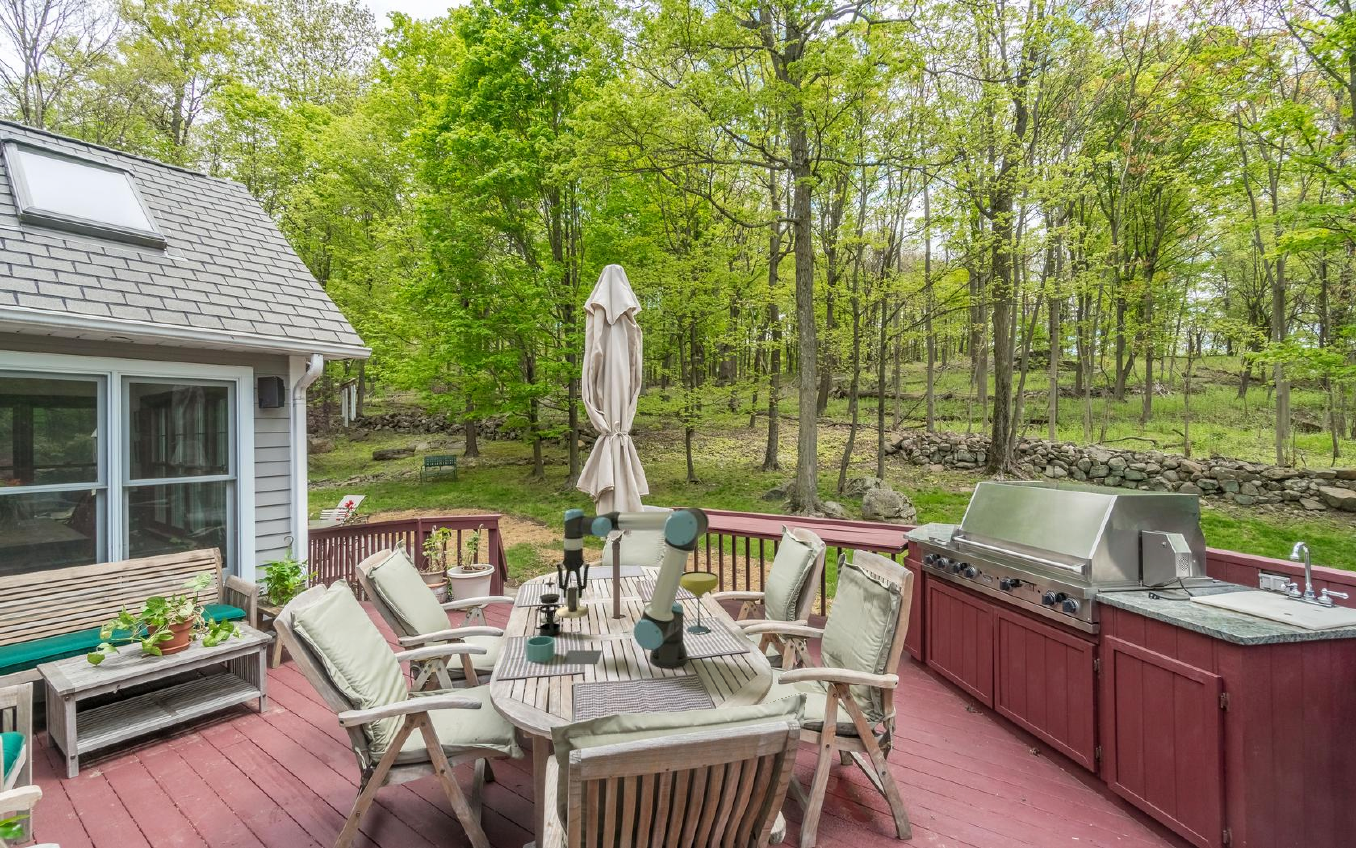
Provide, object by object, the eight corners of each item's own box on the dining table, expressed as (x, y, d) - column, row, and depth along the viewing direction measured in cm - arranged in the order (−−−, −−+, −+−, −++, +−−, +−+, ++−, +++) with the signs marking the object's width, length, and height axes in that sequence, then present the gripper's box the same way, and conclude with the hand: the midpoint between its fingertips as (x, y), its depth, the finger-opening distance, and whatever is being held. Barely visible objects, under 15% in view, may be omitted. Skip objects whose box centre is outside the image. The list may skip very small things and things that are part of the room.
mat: (601, 652, 243) (601, 650, 243) (597, 665, 229) (597, 664, 229) (568, 651, 243) (568, 650, 243) (561, 665, 229) (561, 664, 229)
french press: (560, 629, 270) (560, 579, 270) (563, 635, 261) (563, 584, 262) (534, 632, 266) (534, 581, 266) (536, 639, 257) (536, 587, 257)
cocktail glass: (674, 635, 262) (674, 579, 262) (684, 622, 279) (684, 570, 280) (713, 639, 257) (713, 582, 257) (721, 625, 275) (721, 572, 275)
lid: (591, 608, 242) (591, 584, 242) (585, 618, 229) (586, 593, 229) (560, 607, 243) (560, 583, 243) (552, 618, 230) (553, 592, 230)
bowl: (556, 653, 241) (556, 636, 241) (550, 664, 230) (550, 646, 230) (530, 653, 241) (530, 636, 241) (523, 664, 230) (523, 646, 230)
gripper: (595, 546, 240) (594, 603, 240) (555, 545, 240) (554, 602, 240) (592, 550, 232) (591, 609, 232) (550, 549, 232) (549, 608, 232)
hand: (572, 605), depth 236 cm, fingers closed on lid, 3 cm apart
